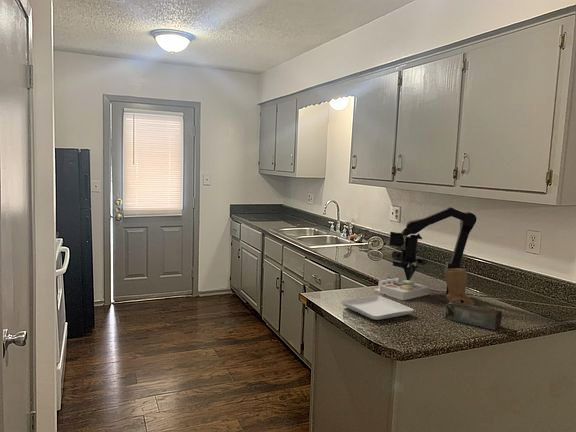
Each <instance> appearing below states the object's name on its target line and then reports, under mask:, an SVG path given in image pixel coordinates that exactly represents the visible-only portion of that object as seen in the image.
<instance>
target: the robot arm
mask: <svg viewBox="0 0 576 432" xmlns="http://www.w3.org/2000/svg"><path fill="white" fill-rule="evenodd" d="M450 217H452V218H454V219H458V220H460V221H459V232H458V236H457V239H456V243H455V246H454V249H453V251H452V256H451V258H450V259H449V261H447V260H446V261H445V265H444V267H443V270H444V271H445V270H446V269H461V262H462V258H463V255H464V253H465V248H466V245H467V242H468V238H469V236H470V233H471V232H472V230H473V228H475V227H474V226H475V224H476V222H477V216H476V215H475V213H472V212H470V211H464V212H463V211H461V210H458V209H455V208H454V207H451V206H450V207H449V206H448V207H447V208H445V209H442V210H440V211H437V212H436V213H434V214H431V215H428V216H426V217H423V218H418V219H414V220H413V219H412V220H409V221H408V222H406V226H405V228H404V229H403V230H402V231H401V232H397V231H396V232H395V231H390V232H389V237H388V246H389V247H395V248H396V247H399V248H401V247H402V246H404V248H402V250H401V252H398V251H397V250H396V251H395V250H394V251H392V253H391V258H392V259H394V260H392V266H393V267H398V268H401V269H403V271H404V274H405V279H406V280H409V281H411V278H412V277H413V275H414V273H415V272H416V271H417V269H418V268H419V267H420V266H419V265H417V264H421V266H426V265H427V260H426V258H424V257H418V254H417V253H419V250H418V243H419V242H418V241H419V240H423V237H422V236H421V234H420V233H419V232H421V231H422V230H424V229H425V228H426V227H428V226H431V225H434V224H436V223H438V222H441V221H443V220H446V219H448V218H450ZM447 294H449V291H448V287H447V286H446V290H445V293H444V295H446V296H447Z"/></svg>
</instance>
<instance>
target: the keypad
mask: <svg viewBox="0 0 576 432" xmlns="http://www.w3.org/2000/svg"><path fill="white" fill-rule="evenodd" d="M399 280H400V279H399V277H395V278H389V279H384V280H378V285H377V287H378V288H374V289H373V292H374V291H377V292H376V293H378V292H379V294H381V293H382V294H381V295H384V294H386V295H385V296H387V295H388V297H391V298H393V299H397V300H401V301H406V300H410V299H415V298H420V297H423V296H428V295H430V291H431V287H430V286H427V285H423V284H419V283H417V282H415V283H414V284H413V285H408V286H412V287H416V288H419V289H414V290H409V291H407V290H404V289H400V286H396V285H393V282H398V281H399ZM388 286H393V287H396V288H390V287H388Z"/></svg>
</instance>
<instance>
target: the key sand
mask: <svg viewBox="0 0 576 432" xmlns="http://www.w3.org/2000/svg"><path fill="white" fill-rule="evenodd" d="M400 289H404V290H407V291H409V290H414V287H412V286H408V285H403V286H400Z"/></svg>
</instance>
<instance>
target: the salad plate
mask: <svg viewBox="0 0 576 432" xmlns="http://www.w3.org/2000/svg"><path fill="white" fill-rule="evenodd" d="M340 303H341V305H342V306H344V307H345V308H347V309H349V310H351V311H353V312H355V313H357V312H358V313H357V314H359V313H360V315H361V316H364V317H366V318H369V319H371V320H376V321H379V320H380V321H381V320H385V319H392V318H396V317H397V318H398V317H401V316H402V317H403V316H406V315H409V314H412V313H413V312H414V311H415V309H414V308H412V307H409V306H407V305H404V304H402V303H399V302H397V301H395V300H392V299H389V298H386V297H384V296H381V295H379V294H377V295H369V296H362V297H356V298H349V299H343V300H340Z"/></svg>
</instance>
